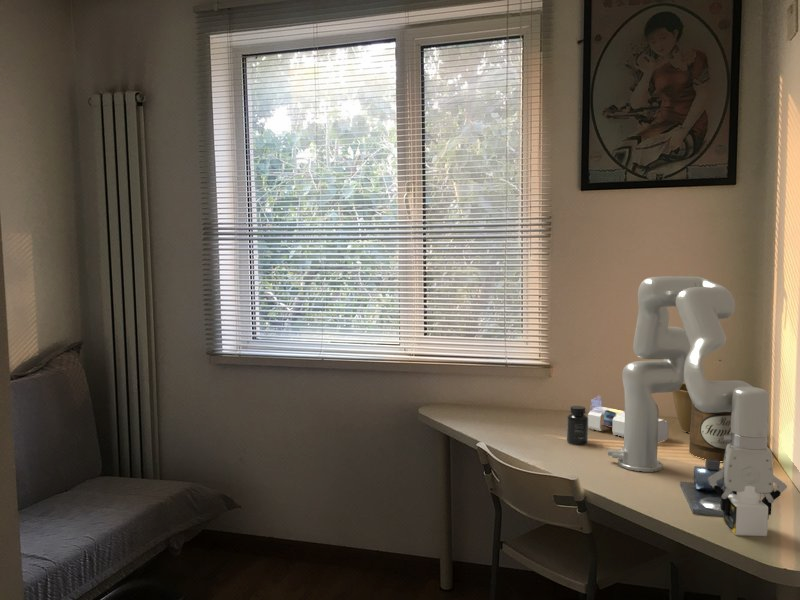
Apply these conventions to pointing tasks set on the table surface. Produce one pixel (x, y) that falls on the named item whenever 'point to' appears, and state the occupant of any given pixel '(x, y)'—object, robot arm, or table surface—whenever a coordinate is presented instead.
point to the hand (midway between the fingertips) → (745, 515)
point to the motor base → (704, 490)
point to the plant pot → (683, 407)
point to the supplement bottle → (577, 426)
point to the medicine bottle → (747, 513)
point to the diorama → (617, 420)
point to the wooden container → (709, 434)
